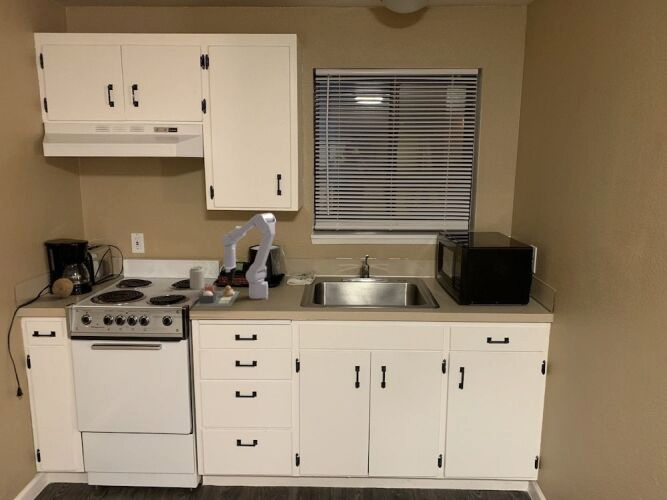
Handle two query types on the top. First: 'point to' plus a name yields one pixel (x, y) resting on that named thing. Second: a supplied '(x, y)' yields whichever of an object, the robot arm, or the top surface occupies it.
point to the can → (196, 277)
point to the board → (216, 299)
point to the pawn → (228, 292)
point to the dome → (207, 293)
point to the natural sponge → (62, 287)
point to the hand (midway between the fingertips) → (230, 282)
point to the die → (209, 288)
